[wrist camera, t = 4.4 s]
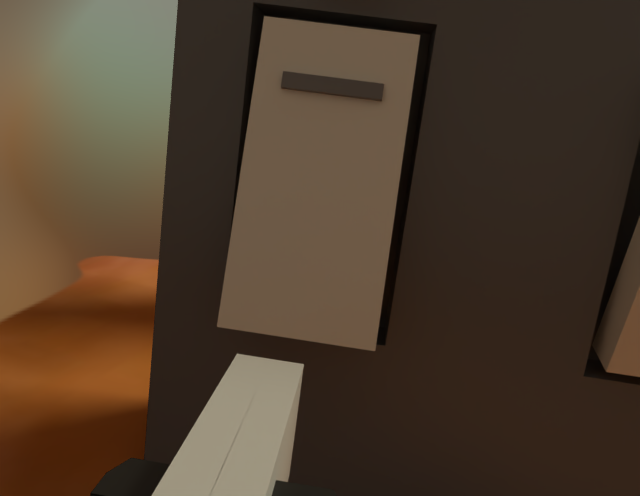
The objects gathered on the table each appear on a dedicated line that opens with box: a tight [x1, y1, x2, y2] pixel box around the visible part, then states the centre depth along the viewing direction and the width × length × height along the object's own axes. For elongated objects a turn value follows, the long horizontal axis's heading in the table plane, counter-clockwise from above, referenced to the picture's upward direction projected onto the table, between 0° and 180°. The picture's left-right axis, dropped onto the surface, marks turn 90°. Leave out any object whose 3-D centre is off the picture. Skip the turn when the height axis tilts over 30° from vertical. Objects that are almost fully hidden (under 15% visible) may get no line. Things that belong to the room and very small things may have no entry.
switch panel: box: [144, 0, 640, 496], centre depth 27 cm, size 16×24×20 cm, turn 85°
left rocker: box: [217, 16, 420, 351], centre depth 19 cm, size 2×5×10 cm, turn 84°
